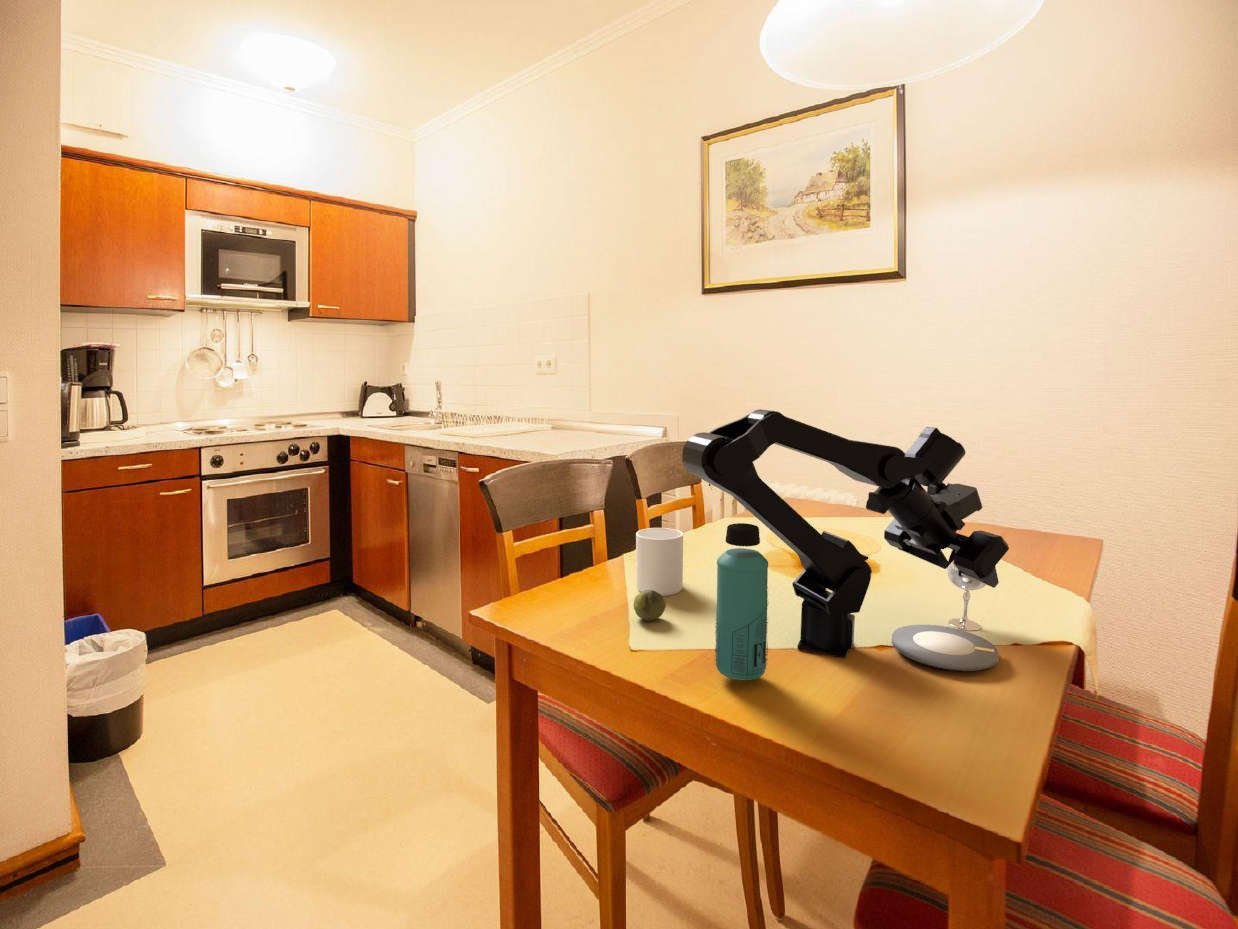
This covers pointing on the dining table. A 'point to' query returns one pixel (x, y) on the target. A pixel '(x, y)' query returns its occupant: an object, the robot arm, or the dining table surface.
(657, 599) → the lime
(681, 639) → the dining table surface
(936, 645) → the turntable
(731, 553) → the beverage bottle
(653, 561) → the cup
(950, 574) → the wineglass
